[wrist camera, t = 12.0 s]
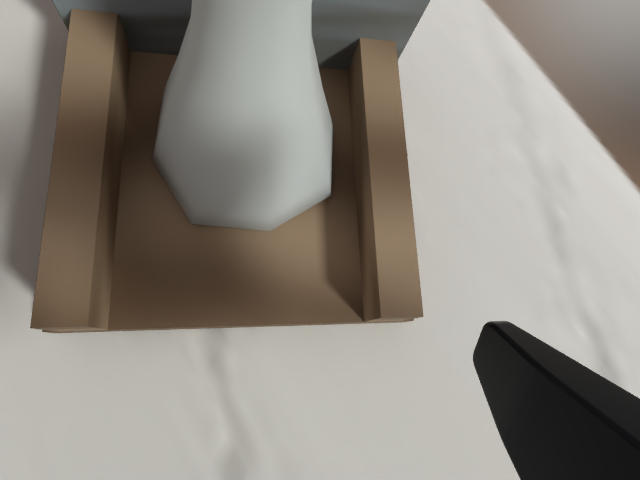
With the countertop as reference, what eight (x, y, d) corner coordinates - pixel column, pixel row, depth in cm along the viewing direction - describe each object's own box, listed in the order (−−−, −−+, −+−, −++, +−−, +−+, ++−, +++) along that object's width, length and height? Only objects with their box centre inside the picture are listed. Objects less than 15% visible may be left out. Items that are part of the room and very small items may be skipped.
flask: (136, 81, 17) (-2, -281, 7) (309, 60, 18) (385, -252, 9) (172, 254, 15) (60, 93, 6) (356, 214, 17) (508, 38, 7)
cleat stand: (404, 322, 17) (486, 307, 11) (54, 332, 15) (-62, 321, 9) (379, 50, 20) (434, -66, 15) (90, 22, 18) (21, -130, 12)
